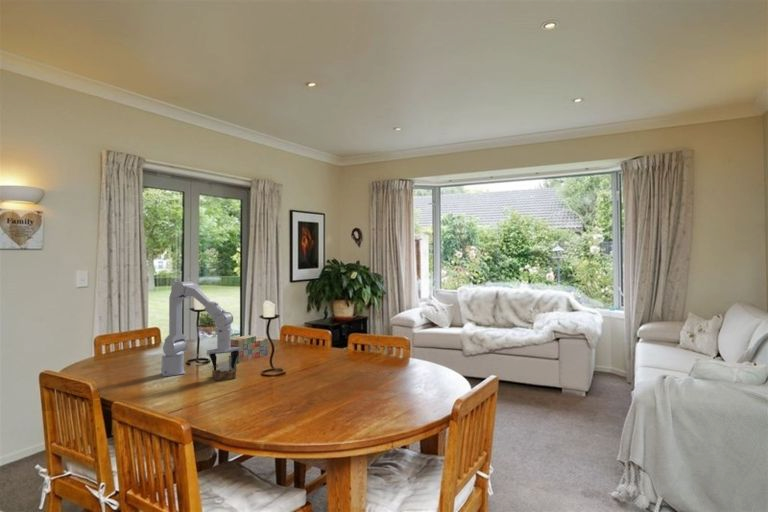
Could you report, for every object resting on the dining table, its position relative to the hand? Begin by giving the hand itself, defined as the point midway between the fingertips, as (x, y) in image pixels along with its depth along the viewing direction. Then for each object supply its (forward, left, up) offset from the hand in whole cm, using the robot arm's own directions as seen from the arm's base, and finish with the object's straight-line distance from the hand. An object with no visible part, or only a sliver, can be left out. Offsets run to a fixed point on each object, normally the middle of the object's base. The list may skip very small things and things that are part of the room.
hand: (223, 368), depth 197 cm
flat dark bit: (+6, +9, -4) cm, 12 cm away
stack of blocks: (+20, +31, -4) cm, 37 cm away
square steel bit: (0, 0, -4) cm, 4 cm away
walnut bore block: (0, 0, -4) cm, 4 cm away
